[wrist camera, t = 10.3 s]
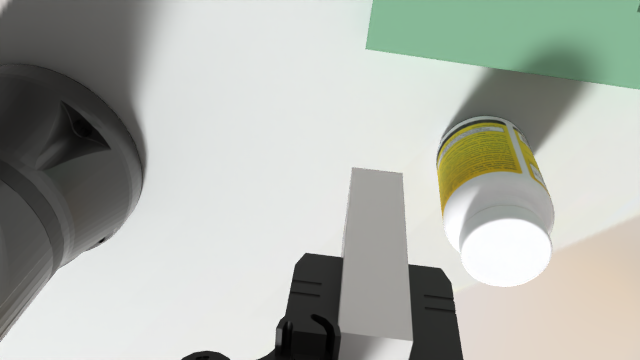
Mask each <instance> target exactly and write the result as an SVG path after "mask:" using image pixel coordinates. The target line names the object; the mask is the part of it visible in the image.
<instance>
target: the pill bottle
mask: <svg viewBox="0 0 640 360" xmlns="http://www.w3.org/2000/svg"><path fill="white" fill-rule="evenodd" d="M436 165H437V173H438V182H439V192H440V200H441V210H442V218H443V226H444V229H445V233H446V235H447V238H448V239H449V241H450V243H451V244H452V245H453V247H454V248H455V249H456V250H457V251H459V252H460V255H461V260H462V263H463V265H464V267H465V269H466V270H467V271H468V273H469V274H470V275H471V276H473V277H474V278H475V279H477V280H479V281H480V282H483V283H485V284H489V285H493V286H501V287H502V286H503V287H508V286H515V285H520V284H523V283H525V282H528V281H530V280H532V279H534V278H535V277H536V276H538V275H539V274H540V273H541V272H542V271H543V270H544V269H545V268H546V267H547V265H548V263H549V261H550V259H551V255H552V243H551V239H550V236H549V235H550V233H551V231H552V228H553V224H554V208H553V204H552V201H551V198H550V195H549V193H548V190H547V188H546V185H545V183H544V180H543V178H542V175H541V173H540V170H539V168H538V165H537V163H536V161H535V158H534V156H533V153H532V151H531V149H530V146H529V144H528V142H527V140H526V138H525V136H524V134H523V133H522V132H521V131H520V130H519V129H518V128H517V127H516V126H515V125H514V124H512V123H511V122H509V121H507V120H505V119H502V118H498V117H493V116H478V117H474V118H470V119H467V120H465V121H463V122H461V123H459V124H457V125H456V126H454V127H453V128H452V129H451V130H450V131H449V132H448V133H447V134H446V135H445V136H444V138H443V139H442V141H441V143H440V145H439V148H438V151H437V163H436Z"/></svg>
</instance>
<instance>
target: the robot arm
mask: <svg viewBox="0 0 640 360" xmlns="http://www.w3.org/2000/svg"><path fill="white" fill-rule="evenodd" d="M141 187H142V170H141V164H140V159H139V156H138V153H137V150H136V147H135V145H134V142H133V140H132V138H131V136H130V134H129V133H128V131H127V129H126V128H125V126H124V125H123V123H122V122H121V121H120V119H119V118H118V117H117V116H116V114H115V113H114V112H113V111H112V110H111V109H110V108H109V107H108V106H107V105H106V104H105V103H104V102H103V101H102V100H101V99H100V98H99V97H98V96H96V95H95V94H94V93H93V92H91V91H90V90H88V89H87V88H86V87H84V86H82V85H81V84H79V83H78V82H76V81H74V80H72V79H70V78H68V77H66V76H64V75H62V74H59V73H57V72H54V71H51V70H48V69H45V68H41V67H36V66H31V65H21V64H10V65H1V66H0V342H1V340H2V339H3V338H4V337H5V335H6V334H7V333H8V331H9V330H10V329H11V328H12V326H13V325H14V324H15V322H16V321H17V320H18V319H19V317H20V316H21V315H22V314H23V312H24V311H25V310H26V309H27V307H28V306H29V305H30V304H31V302H32V301H33V300H34V298H35V297H36V296H37V295H38V293H39V292H40V291H41V290H42V288H43V287H44V286H45V285H46V283H47V282H48V281H49V280H50V278H51V277H52V276H53V275H54V273H55V272H56V271H57V270H58V269H59V268H61V267H62V266H64V265H66V264H67V263H69V262H70V261H72V260H73V259H75V258H76V257H77V256H79V255H80V254H81V253H83V252H84V251H87V250H90V249H93V248H95V247H97V246H99V245H100V244H102V243H104V242H105V241H107V240H108V239H110V238H111V237H112V236H113V235H114V234H115V233H116V232H117V231H118V230H119V229H120V228H121V227H122V225H123V224H124V222H125V221H126V220H127V218H128V217H129V216H130V214H131V213H132V211H133V210H134V208H135V206H136V204H137V202H138V199H139V197H140V193H141ZM453 299H454V298H453V291H452V285H451V282H450V280H449V279H448V278H447V276H446V275H445V273H444V272H443V270H442V269H441V268H434V267H426V266H418V265H410V264H408V255H407V239H406V223H405V207H404V192H403V176H402V173H396V172H388V171H379V170H371V169H362V168H354V167H352V172H351V180H350V188H349V195H348V203H347V211H346V218H345V226H344V234H343V242H342V253H341V257H334V256H326V255H318V254H310V253H305V254H304V255H303V257H302V258H301V259H300V260H299V261H298V262H297V263H296V264H295V268H294V273H293V278H292V283H291V288H290V294H289V299H288V304H287V309H286V314H285V316H284V317H283V318H282V319H281V320H280V322H279V324H278V326H277V328H276V341H275V349H274V350H273V351H272V352H270V353H269V354H268V355H266V356H264V357H262V358H260V359H258V360H463V355H462V349H461V342H460V336H459V329H458V323H457V317H456V314H455V304H454V301H453ZM181 360H230V359H229V358H228V357H226V356H224V355H223V354H221V353H218V352H212V351H201V352H195V353H192V354H190V355H188V356H186V357H184V358H183V359H181Z"/></svg>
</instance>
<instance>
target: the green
mask: <svg viewBox="0 0 640 360" xmlns="http://www.w3.org/2000/svg"><path fill="white" fill-rule="evenodd" d="M366 49H369V50H375V51H382V52H389V53H396V54H403V55H409V56H416V57H423V58H430V59H436V60H443V61H450V62H457V63H464V64H470V65H477V66H484V67H491V68H497V69H504V70H511V71H518V72H525V73H531V74H538V75H545V76H552V77H558V78H565V79H572V80H579V81H586V82H592V83H599V84H606V85H613V86H619V87H626V88H633V89H640V0H373V4H372V10H371V17H370V23H369V30H368V36H367V43H366Z"/></svg>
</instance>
